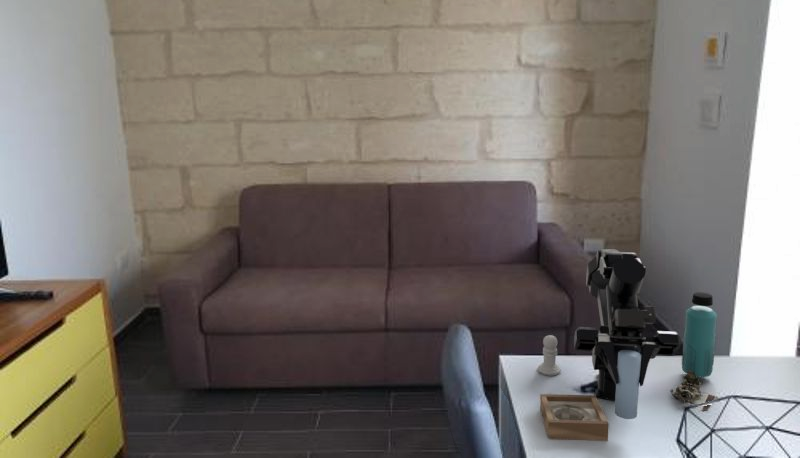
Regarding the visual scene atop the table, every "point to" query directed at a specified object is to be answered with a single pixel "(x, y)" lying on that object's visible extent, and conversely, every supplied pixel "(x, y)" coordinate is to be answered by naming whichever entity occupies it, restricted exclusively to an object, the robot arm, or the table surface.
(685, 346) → the beverage bottle
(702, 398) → the crumpled brown clump
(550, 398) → the walnut box
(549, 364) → the chess piece
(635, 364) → the peg
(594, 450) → the table surface
